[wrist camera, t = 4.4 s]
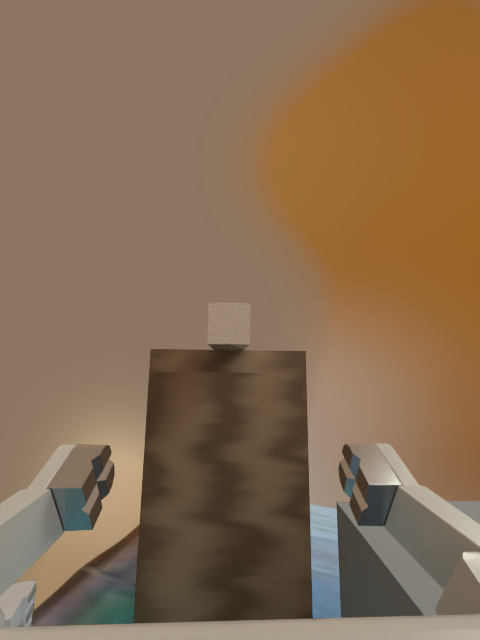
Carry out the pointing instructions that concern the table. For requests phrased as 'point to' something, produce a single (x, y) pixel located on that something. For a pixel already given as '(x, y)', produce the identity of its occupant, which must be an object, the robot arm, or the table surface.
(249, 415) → the walnut shelf
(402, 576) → the block
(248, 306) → the tan bar
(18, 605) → the walkman
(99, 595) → the table surface
